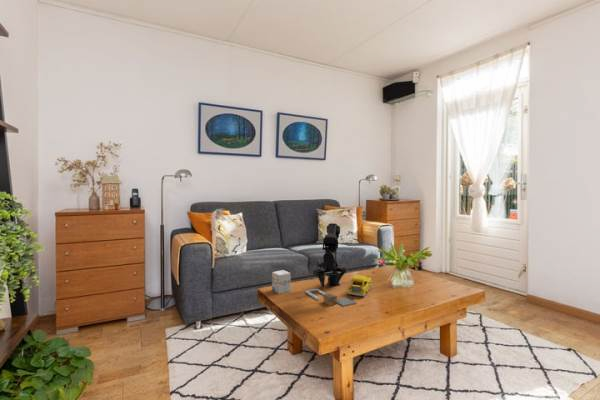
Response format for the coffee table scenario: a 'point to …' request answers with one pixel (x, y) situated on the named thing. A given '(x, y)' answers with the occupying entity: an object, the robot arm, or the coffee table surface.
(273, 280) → the ink box
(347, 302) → the slate coaster
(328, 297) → the walnut block
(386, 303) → the coffee table surface
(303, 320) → the coffee table surface
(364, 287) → the toy car
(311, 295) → the acrylic channel
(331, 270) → the robot arm
